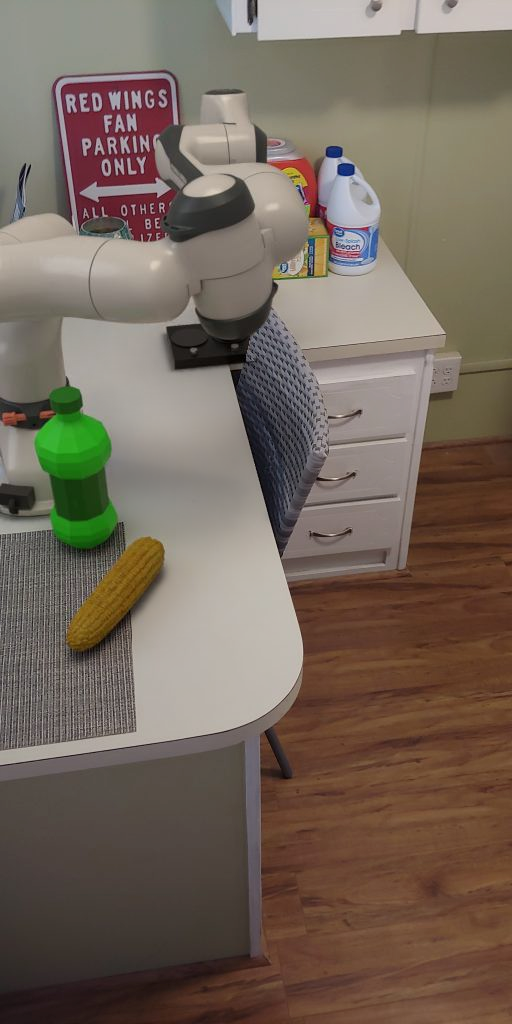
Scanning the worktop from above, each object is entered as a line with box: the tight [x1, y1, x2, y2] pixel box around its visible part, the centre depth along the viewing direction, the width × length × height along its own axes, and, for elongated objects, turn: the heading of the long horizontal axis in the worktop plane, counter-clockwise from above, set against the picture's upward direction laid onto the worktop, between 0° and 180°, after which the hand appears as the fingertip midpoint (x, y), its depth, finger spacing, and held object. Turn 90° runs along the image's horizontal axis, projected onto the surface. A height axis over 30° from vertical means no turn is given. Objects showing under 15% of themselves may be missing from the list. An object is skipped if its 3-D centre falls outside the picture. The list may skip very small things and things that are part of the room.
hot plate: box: [165, 322, 252, 370], centre depth 183 cm, size 14×16×3 cm
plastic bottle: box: [34, 386, 119, 550], centre depth 131 cm, size 10×10×25 cm
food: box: [64, 535, 166, 653], centre depth 125 cm, size 21×6×6 cm, turn 156°
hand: (227, 258), depth 174 cm, fingers open, 8 cm apart
